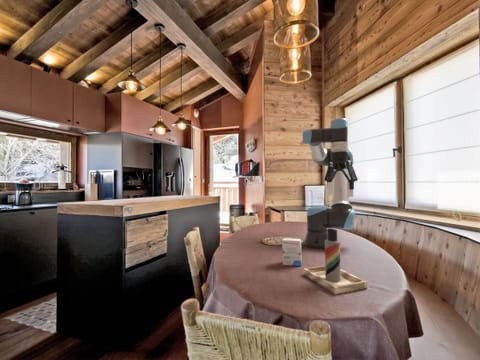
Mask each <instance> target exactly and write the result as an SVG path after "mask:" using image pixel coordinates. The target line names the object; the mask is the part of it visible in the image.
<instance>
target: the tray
mask: <svg viewBox="0 0 480 360" xmlns="http://www.w3.org/2000/svg"><path fill="white" fill-rule="evenodd" d="M303 275H304V276H306V277H308V278H309V279H311V280H312V281H313V282H315V283H317V284H318V285H320V286H321V287H322V288H325V289H326V290H327V291H329V292H331V293H333V294H334V295H340V294H344V293H345V292H346V293H350V291H351V292H355V290H356V291H360V290H359V289H361V290H365V289H364V288H366V289H368V281H367V280H364V279H363V278H360V277H358V276H355V275H354V274H352V273H350V272H348V271H346V270H344V269H341V280H340V281H338V282H332V281H328V280H327V279H326V277H325V264H324V265H319V266H312V267H304V268H303Z"/></svg>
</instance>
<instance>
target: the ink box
mask: <svg viewBox="0 0 480 360" xmlns="http://www.w3.org/2000/svg"><path fill="white" fill-rule="evenodd" d="M281 247H282V249H281V250H282V265H284V266H295V267H296V266H297V267H302V263H303V261H302V255H303V254H302V240H301V238H288V237H287V238H286V237H284V238H283V239H282V240H281Z"/></svg>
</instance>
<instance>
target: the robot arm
mask: <svg viewBox="0 0 480 360" xmlns="http://www.w3.org/2000/svg"><path fill="white" fill-rule="evenodd" d="M348 127H349V126H348V120H347V118H344V117H343V118H341V117H340V118H334V119H332V120H331V121H330V127H326V128H314V129H313V128H312V129H305V130H303V131H302V143H303V144H304V145H308V146H309V149H310V151H311V154H310V155H311V159H312V160H313V161H314V162H315V163H316V164H318V165H320V166H324V167H327V168H326V169H327V170H326V172H325V176H324V179H323V181H324V182H327V196H333V203H332V204H331V205H330V208H328V206H327V205H316V206H310V207H308V208H307V210H306V221H307V222H306V223H307V225H306V226H307V228H306V229H307V231H306V236H305V238H304V245H305V246H306V247H309V248H313V249H325V240H327V229H328V228H331V229H335V230H338V229H340V230H351V229H353V228H354V223H355V214H356V209H355V208H353V206H352V204H351V203H350V198H353V197H354V189H355V182H357V181H358V180H359V179H358V176H357V174H356V171H355V169H354V166H353V165H354V158H353V157H354V156H353V152H352V149H351V148H350V147H349V143H348V141H349V140H348V135H349V133H348V129H349V128H348ZM326 143H329V144H330V148H325V147H324V144H326Z"/></svg>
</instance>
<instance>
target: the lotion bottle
mask: <svg viewBox="0 0 480 360" xmlns="http://www.w3.org/2000/svg"><path fill="white" fill-rule="evenodd" d="M324 265H325V277H326V279H327V280H328V281H332V282H338V281H340V280H341V242H340V240H338V229H334V228H327V240H325V248H324Z"/></svg>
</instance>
